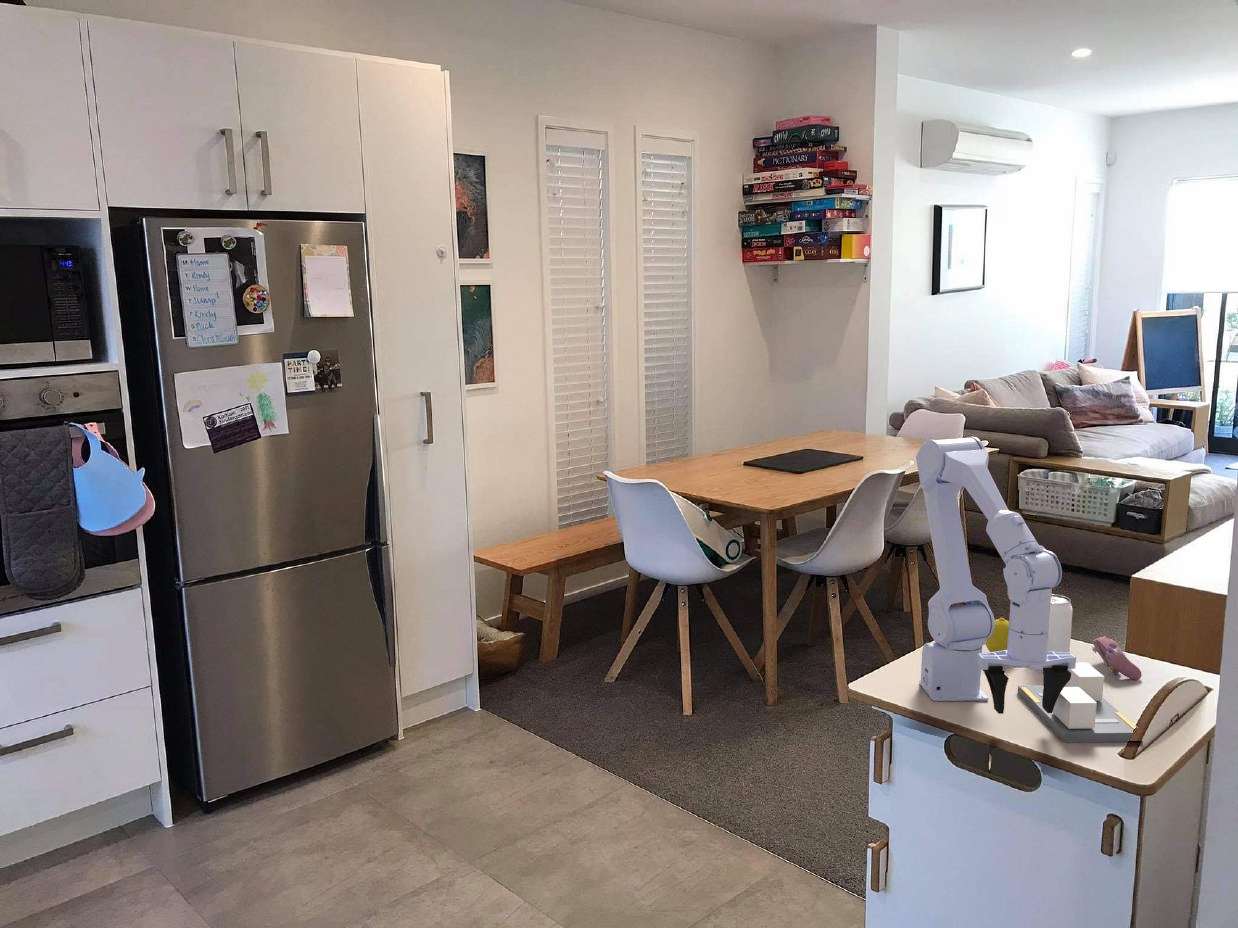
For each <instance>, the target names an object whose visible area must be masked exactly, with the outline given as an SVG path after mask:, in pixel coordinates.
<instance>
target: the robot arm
mask: <svg viewBox="0 0 1238 928" xmlns="http://www.w3.org/2000/svg"><path fill="white" fill-rule="evenodd" d="M989 456H990V455H989V453H988V452H987V450H986V448H985V446H984V444H983V442H982V441H981V440H980V438H978V437H976V436H967V437H960V438H946V439H945V438H944V439H927V440H925V441H924V442H923V443H922V444H921V446H920V448H919V449H918V452H917V454H916V456H915V459H916V466H917V471H918V477H919V478H918V479H919V483H920V484H919V485H920V488H921V489H922V490H923V497H924V504H925V508H926V514H927V520H928V526H929V531H930V539H931V543H932V549H933V557H934V560H935V562H934V563H935V566H936V567H935V568H936V571H937V577H938V578H937V579H938V584H939V590H937V591H936V592H935V594H934V595H933V596H932V597H931V598H930V599H929V600H928V602H927V606H928V618H927V628H928V631H929V634H930V636H931V638H932V639H933V641H932V642H925V643H924V644H923V646H922V651H921V666H920V667H921V669H920V680H919V682H918V683H919V685H921V687H922V688H923V689H924V691H925V692H926V694H927V695H928V697H929V698H930V700H932V701H934V702H944V701H945V702H949V701H951V702H953V701H954V702H956V701H957V702H959V701H963V702H964V701H965V702H967V701H973V702H974V701H988V700H989V697H988V695H987V694H986V693H985V692H984V691H983V690H982V688H981V676H982V675H981V673H982V672H981V671H983V673H984V675H985V677H986V681H987V683H988V685H989V687H990V688H989V689H990V691H991V696H992V703H993V709H994V710H995V711H996V713H997V714H999V715H1001V714H1002V715H1003V714H1004V711H1005V696H1006V695H1005V694H1006V691H1007V690H1006V689H1007V685H1008V682H1009V677H1008V676H1007V675H1006V674H1005V670H1004V669H1014V668H1015V669H1025V668H1027V669H1029V670H1042V678H1043V685H1044V687H1043V698H1042V707H1043V709H1044V710H1045V711H1046V712H1047V713H1052V712H1053V709H1054V706H1055V703H1056V701H1057V699H1058V696H1059V694H1060V693H1061V691H1062V689H1063V688H1064V686H1065V685H1066V684H1067V683H1068V682H1069V681H1070V679H1071V672H1069V671H1068V669H1075V666H1076V663H1077V656H1075V655H1073V654H1072V653H1071V652H1069V653H1062V652H1052V651H1047V648H1048V634H1049V621H1050V607H1051V594H1053V593H1052V591H1053V588H1054V589H1055V588H1056V587H1057V586H1058V585H1059V584H1060V583H1061V581H1062V577H1063V576H1062V575H1063V570H1062V569H1063V568H1062V566H1061V565H1062V564H1061V562H1060V561H1059V559H1058V556H1057V555H1056V553H1054V552H1053V551H1050V550H1047V549H1046V548H1045V546H1043V545H1040V544H1039V543H1038V541H1037V539H1036V538H1035V536H1034V535H1033V533H1032V532H1031V530H1030V528H1029V526H1028V525H1027V524H1026V521H1025V519H1024V518H1023V517H1022V515H1021V513H1019V512H1015V511H1011V510H1009V508H1008V507H1007V504H1006V502H1005V501H1004V498H1003V497H1002V495H1001V493H1000V490H999V489H998V486H997V485H996V483H995V481H994V479H993V476H992V475H991V472H990V471H989V468H988V465H989V461H990V460H989V459H990V458H989ZM963 487H964V488H965V489H966V491H967V492H968V494H969V495H970V497H971V498H972V500H974V502H975V504H976V505H977V506H978V508H979V509H980V510H981V512H982V514H983V515H984V516H985V518H986V519H987V523H986V524H987V525H986V527H985V528H986V529H985V531H986V533H987V536H989V539H990V541H992V543H993V545H994V547H995V549H996V550H997V552H998V554H999V556H1000V557H1001V559H1002V561H1003V562H1004V564H1005V567H1003V569H1002V570H1003V571H1002V572H1003V578H1004V580H1005V583H1006V586H1007V596H1008V599H1009V600H1010V603H1009V620H1008V621H1009V632H1008V647H1007V650H1003V651H997V652H985V653H983V646H984V645H985V646H986V639H987V638H989V637H990V636H991V635H992V634H993V632H994V628H995V620H996V619H995V617H994V613H993V611H992V610H991V607H990V606H989V602H988V599H987V598H988V597H987V595H986V594H985V593H984V592H982V590H980V589H979V588H977V587H975V586H974V585H973V581H972V574H971V569H970V564H969V558H968V553H967V547H966V540H965V536H964V529H963V525H962V524H963V523H962V518H961V514H960V513H961V512H960V507H959V502H958V500H959V499H958V493H959V492H960V490H961V489H962V488H963ZM960 603H965V604H961V605H955V604H960ZM952 605H953V606H952Z"/></svg>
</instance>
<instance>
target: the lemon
mask: <svg viewBox="0 0 1238 928" xmlns="http://www.w3.org/2000/svg"><path fill="white" fill-rule="evenodd" d="M994 620H995V628H994V632H993V634H992V635H991V636H990V637H989V638H987V639H986V644H985V647H986V648H987V650H988V652H989V653H991V652H997V651H1003V650H1007V647H1008V632H1009V620H1008V619H1007V620H1006V619H1005V618H1004V617H1000V618H998V619H997V618H996V619H994Z"/></svg>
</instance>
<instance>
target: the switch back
mask: <svg viewBox="0 0 1238 928" xmlns="http://www.w3.org/2000/svg"><path fill="white" fill-rule="evenodd" d="M1068 671H1069V672H1071V679H1070V681H1069V682H1068V683H1067V684H1066V685H1065V686H1064V687H1079V688H1081V689H1082V690H1083V691H1084V692H1085V693H1086V694H1087V695H1088V696H1090V697H1091V698H1092V699H1093V700H1094V701H1102V697H1103V696H1104V695H1103V694H1104V685H1105V684H1104V682H1105V675H1103V674H1102V673H1101V672H1099V671H1098V670H1097V669H1096V668H1094V667H1093V666H1092V665H1091V664H1090V663H1088V662H1076V666H1075V669H1068Z"/></svg>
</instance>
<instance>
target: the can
mask: <svg viewBox="0 0 1238 928" xmlns="http://www.w3.org/2000/svg"><path fill="white" fill-rule="evenodd" d="M1072 624H1073V607H1072V603H1071V598H1069V597H1067V596H1065V595H1061V594H1055V593H1051V607H1050V621H1049V634H1048V648H1047V651H1052V652H1062V653H1071V651H1070V650H1071V649H1070V648H1071V637H1072Z"/></svg>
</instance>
